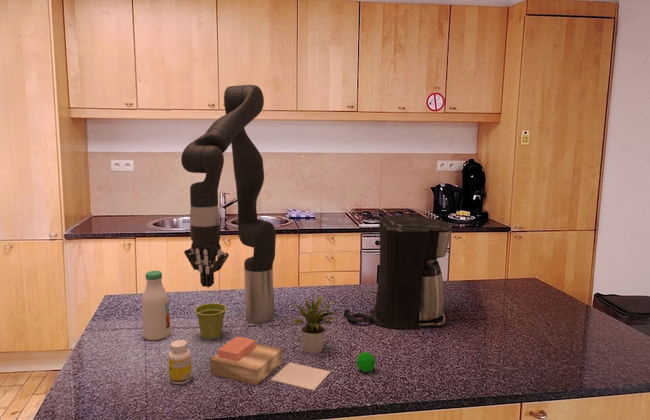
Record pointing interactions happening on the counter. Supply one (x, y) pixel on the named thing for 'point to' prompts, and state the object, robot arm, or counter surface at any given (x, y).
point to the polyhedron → (365, 362)
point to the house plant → (314, 325)
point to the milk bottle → (155, 308)
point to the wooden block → (248, 365)
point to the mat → (301, 376)
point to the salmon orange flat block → (236, 348)
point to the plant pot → (210, 319)
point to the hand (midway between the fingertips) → (207, 285)
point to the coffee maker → (409, 273)
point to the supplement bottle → (180, 362)
